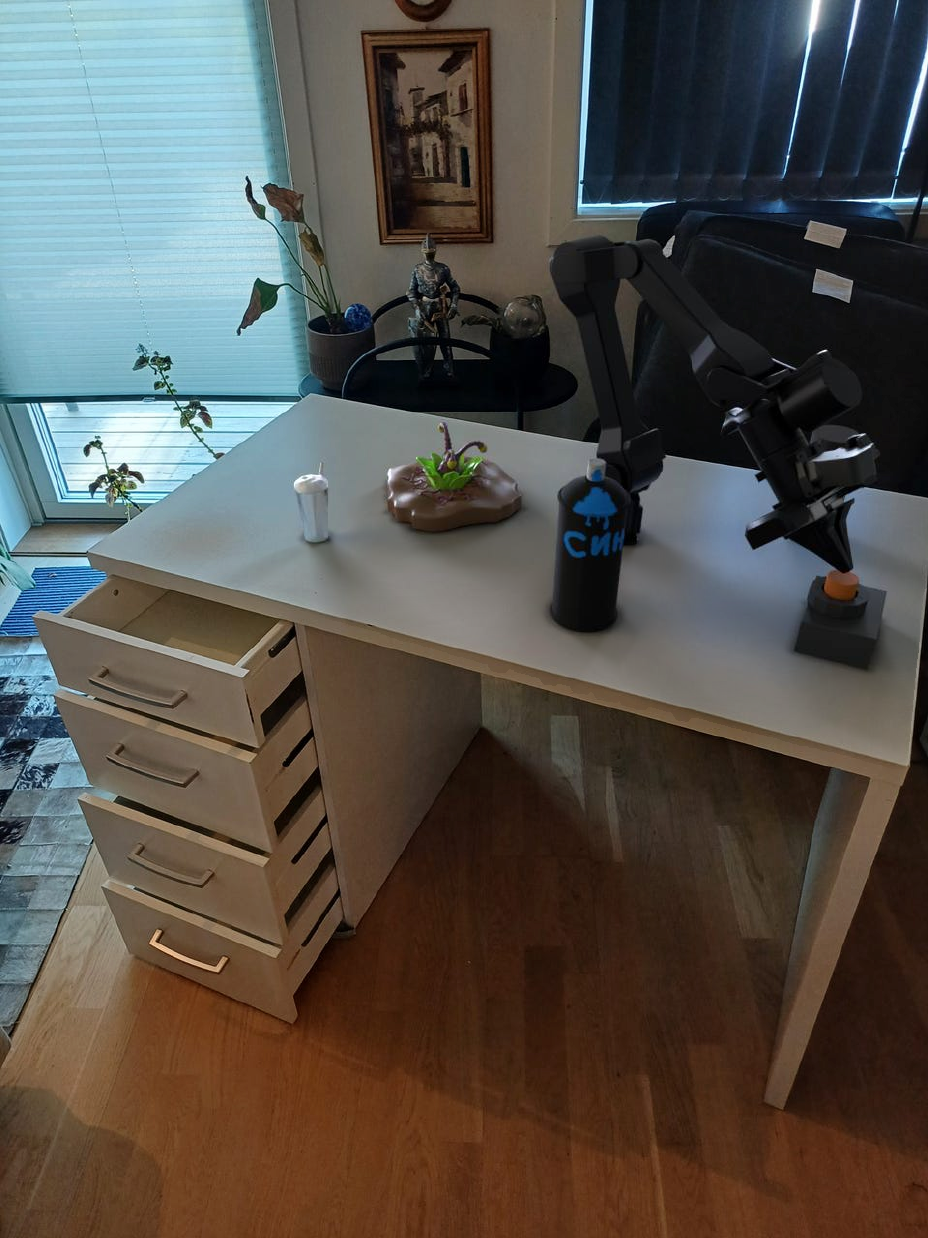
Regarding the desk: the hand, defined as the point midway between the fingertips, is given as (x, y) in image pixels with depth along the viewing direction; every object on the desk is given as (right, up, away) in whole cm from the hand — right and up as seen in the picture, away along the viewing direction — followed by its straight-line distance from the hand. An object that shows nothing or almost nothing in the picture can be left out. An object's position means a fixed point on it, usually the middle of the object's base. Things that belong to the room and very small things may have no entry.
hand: (848, 571), depth 101 cm
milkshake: (-64, +6, +25) cm, 68 cm away
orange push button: (0, -2, +2) cm, 3 cm away
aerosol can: (-29, -5, +9) cm, 30 cm away
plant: (-45, +13, +34) cm, 58 cm away
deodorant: (+5, +6, +25) cm, 26 cm away
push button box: (+1, -7, +5) cm, 9 cm away
